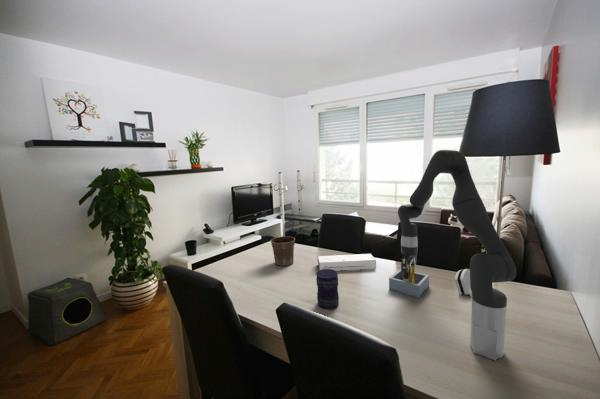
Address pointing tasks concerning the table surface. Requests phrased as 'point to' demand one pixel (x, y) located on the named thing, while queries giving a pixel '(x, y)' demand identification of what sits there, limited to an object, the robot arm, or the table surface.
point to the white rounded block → (463, 282)
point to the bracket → (411, 275)
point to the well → (409, 284)
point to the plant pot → (283, 250)
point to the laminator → (347, 262)
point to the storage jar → (327, 289)
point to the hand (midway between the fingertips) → (409, 275)
